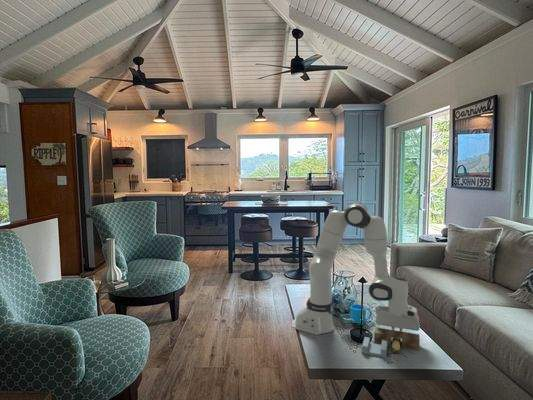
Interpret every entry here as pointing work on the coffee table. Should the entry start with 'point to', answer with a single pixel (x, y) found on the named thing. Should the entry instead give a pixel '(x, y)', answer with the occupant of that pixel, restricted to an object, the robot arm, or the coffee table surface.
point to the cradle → (374, 348)
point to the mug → (358, 313)
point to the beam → (407, 338)
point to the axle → (395, 345)
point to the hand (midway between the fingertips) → (396, 335)
